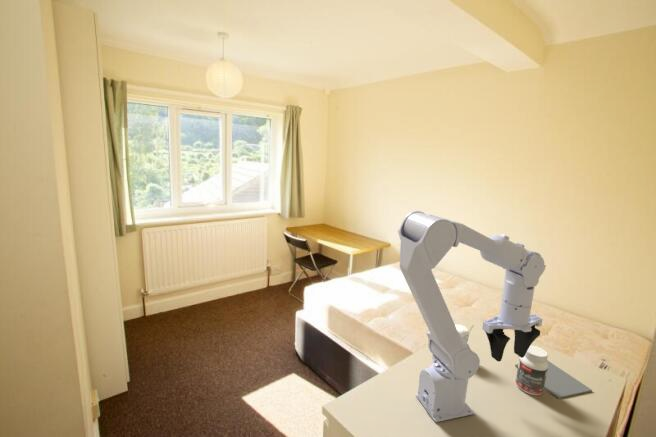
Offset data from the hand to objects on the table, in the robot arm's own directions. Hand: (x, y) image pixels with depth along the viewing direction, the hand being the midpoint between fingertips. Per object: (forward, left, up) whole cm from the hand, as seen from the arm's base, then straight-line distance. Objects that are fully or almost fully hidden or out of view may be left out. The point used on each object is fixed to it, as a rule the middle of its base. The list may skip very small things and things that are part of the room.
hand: (507, 356), depth 72 cm
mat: (+17, +1, -9) cm, 19 cm away
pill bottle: (+8, 0, -10) cm, 12 cm away
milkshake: (-1, +14, -10) cm, 17 cm away
